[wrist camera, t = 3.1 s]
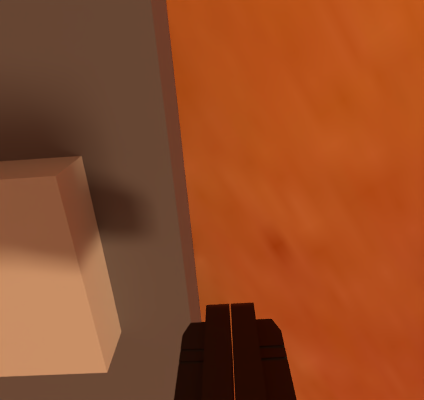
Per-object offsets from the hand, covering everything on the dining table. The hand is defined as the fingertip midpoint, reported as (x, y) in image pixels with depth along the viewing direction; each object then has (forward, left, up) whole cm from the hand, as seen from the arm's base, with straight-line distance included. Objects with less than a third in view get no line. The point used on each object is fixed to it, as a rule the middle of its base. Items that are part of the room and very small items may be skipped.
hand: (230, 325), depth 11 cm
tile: (0, -9, -5) cm, 10 cm away
